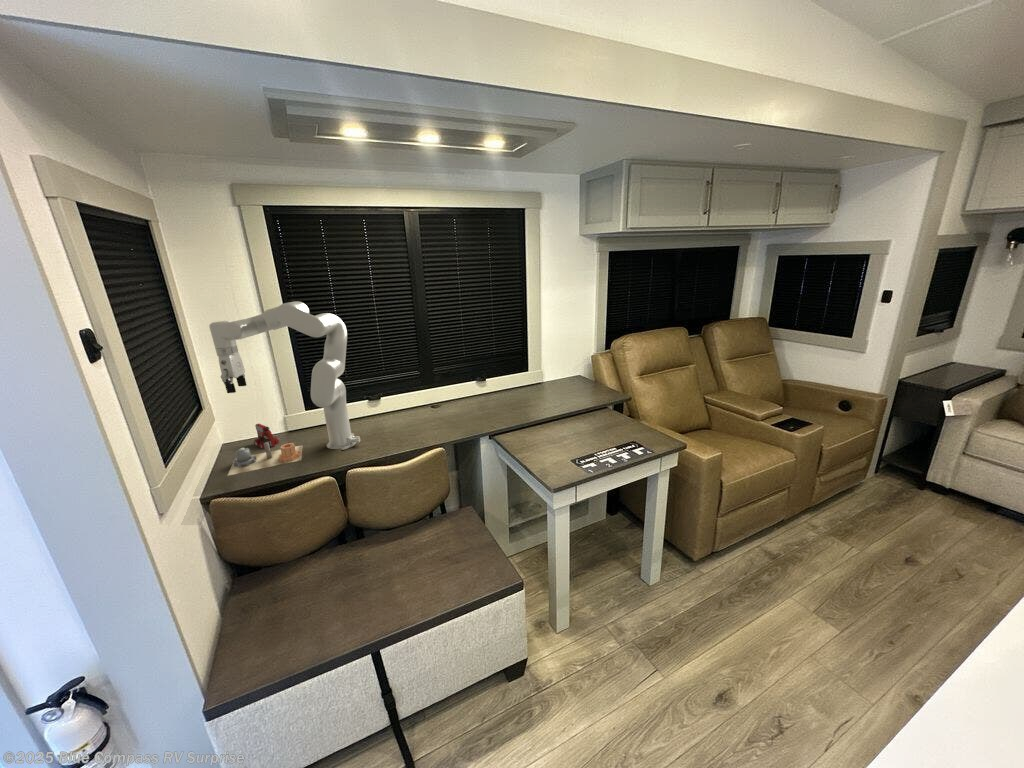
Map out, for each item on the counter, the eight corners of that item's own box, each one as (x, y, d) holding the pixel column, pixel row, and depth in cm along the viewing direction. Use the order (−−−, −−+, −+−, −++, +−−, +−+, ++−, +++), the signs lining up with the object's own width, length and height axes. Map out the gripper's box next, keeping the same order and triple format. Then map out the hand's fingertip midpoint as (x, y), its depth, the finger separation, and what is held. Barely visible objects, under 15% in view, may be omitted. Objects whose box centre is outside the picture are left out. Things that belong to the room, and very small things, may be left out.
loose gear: (300, 451, 169) (298, 440, 167) (299, 459, 162) (297, 447, 161) (280, 455, 166) (277, 444, 164) (278, 463, 159) (275, 451, 158)
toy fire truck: (266, 452, 172) (261, 431, 169) (253, 446, 179) (247, 425, 176) (282, 446, 178) (277, 425, 175) (268, 440, 184) (264, 420, 181)
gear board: (303, 447, 176) (299, 431, 173) (301, 462, 162) (298, 445, 160) (235, 461, 165) (230, 443, 163) (228, 478, 151) (222, 459, 149)
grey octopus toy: (257, 456, 166) (253, 442, 164) (254, 464, 159) (251, 450, 157) (236, 461, 163) (232, 447, 161) (232, 469, 156) (228, 454, 154)
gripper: (226, 354, 155) (237, 394, 160) (246, 346, 171) (255, 382, 177) (205, 356, 154) (217, 396, 159) (227, 347, 170) (237, 384, 175)
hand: (237, 389), depth 168 cm, fingers open, 9 cm apart
